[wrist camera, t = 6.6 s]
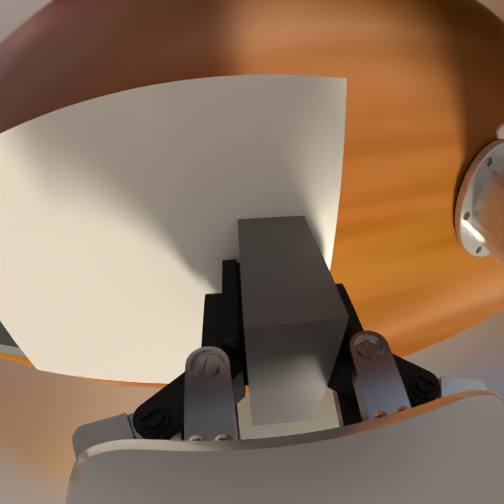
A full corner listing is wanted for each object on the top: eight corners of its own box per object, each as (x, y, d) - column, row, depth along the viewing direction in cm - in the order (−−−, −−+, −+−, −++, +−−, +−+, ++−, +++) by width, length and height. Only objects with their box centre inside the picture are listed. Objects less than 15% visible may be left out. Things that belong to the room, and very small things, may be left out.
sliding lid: (338, 78, 8) (446, 92, 3) (306, 365, 17) (324, 447, 12) (-58, 166, 8) (-124, 219, 3) (40, 361, 17) (18, 422, 12)
